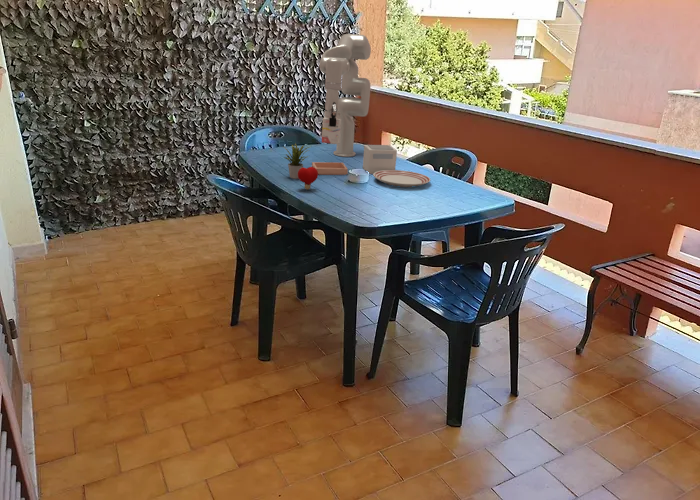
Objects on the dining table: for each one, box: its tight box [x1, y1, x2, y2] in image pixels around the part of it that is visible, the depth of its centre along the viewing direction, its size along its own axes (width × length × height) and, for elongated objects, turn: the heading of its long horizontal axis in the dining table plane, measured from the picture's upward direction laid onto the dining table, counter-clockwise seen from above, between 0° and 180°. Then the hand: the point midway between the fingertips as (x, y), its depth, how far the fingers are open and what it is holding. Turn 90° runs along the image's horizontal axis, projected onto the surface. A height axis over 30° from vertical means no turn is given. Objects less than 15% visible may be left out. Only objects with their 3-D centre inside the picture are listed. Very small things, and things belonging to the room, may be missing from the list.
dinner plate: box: [372, 169, 431, 188], centre depth 257 cm, size 28×27×3 cm
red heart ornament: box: [298, 166, 319, 191], centre depth 234 cm, size 9×7×10 cm
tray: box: [311, 161, 349, 176], centre depth 267 cm, size 13×16×3 cm
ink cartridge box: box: [321, 110, 341, 145], centre depth 260 cm, size 9×5×15 cm, turn 85°
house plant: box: [281, 142, 311, 180], centre depth 251 cm, size 14×14×16 cm
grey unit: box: [362, 144, 398, 175], centre depth 273 cm, size 13×14×12 cm
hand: (331, 124), depth 259 cm, fingers closed on ink cartridge box, 6 cm apart
